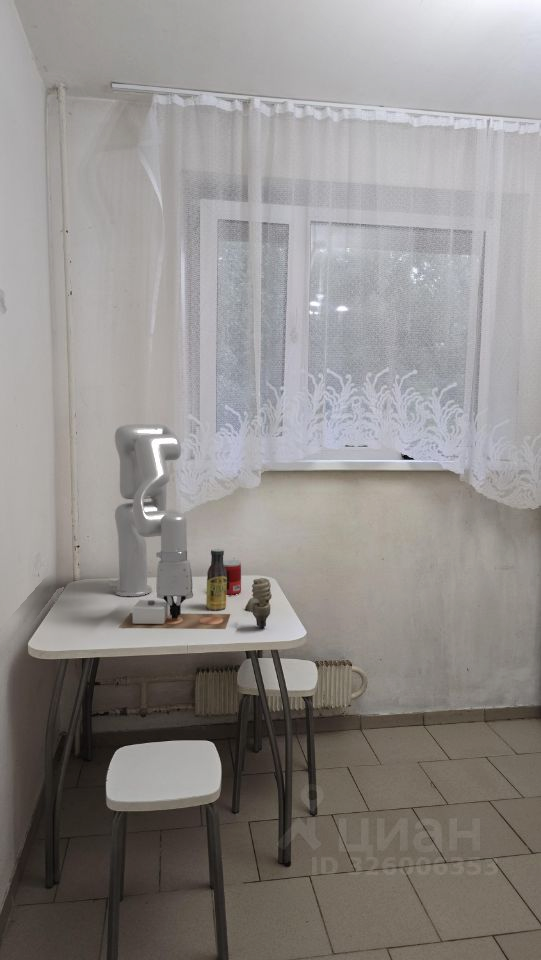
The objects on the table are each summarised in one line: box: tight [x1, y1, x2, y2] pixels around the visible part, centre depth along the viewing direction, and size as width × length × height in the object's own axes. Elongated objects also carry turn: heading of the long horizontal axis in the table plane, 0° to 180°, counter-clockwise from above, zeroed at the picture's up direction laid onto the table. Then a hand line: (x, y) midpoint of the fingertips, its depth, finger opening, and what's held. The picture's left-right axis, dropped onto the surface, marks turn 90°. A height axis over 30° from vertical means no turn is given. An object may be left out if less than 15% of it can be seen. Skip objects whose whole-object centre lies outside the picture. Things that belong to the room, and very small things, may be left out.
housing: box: [131, 599, 170, 624], centre depth 193 cm, size 9×9×5 cm
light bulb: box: [251, 577, 272, 630], centre depth 189 cm, size 6×6×15 cm
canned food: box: [223, 559, 242, 596], centre depth 227 cm, size 8×8×11 cm
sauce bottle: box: [205, 548, 227, 612], centre depth 205 cm, size 7×6×20 cm
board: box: [117, 612, 231, 630], centre depth 193 cm, size 31×14×1 cm, turn 88°
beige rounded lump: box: [244, 591, 273, 613], centre depth 207 cm, size 6×8×10 cm
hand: (175, 617), depth 193 cm, fingers closed
